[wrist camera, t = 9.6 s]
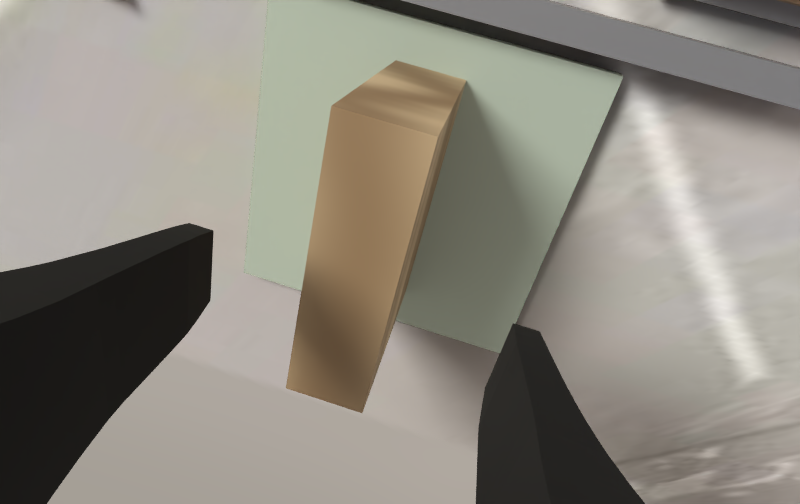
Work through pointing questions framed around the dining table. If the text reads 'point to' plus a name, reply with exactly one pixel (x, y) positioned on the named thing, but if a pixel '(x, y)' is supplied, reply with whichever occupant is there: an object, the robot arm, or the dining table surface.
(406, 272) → the oak block
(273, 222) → the sage mat
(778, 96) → the offcut rack
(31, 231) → the dining table surface
